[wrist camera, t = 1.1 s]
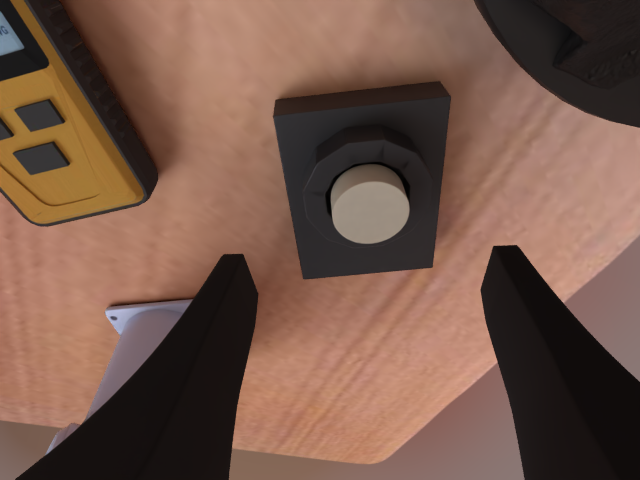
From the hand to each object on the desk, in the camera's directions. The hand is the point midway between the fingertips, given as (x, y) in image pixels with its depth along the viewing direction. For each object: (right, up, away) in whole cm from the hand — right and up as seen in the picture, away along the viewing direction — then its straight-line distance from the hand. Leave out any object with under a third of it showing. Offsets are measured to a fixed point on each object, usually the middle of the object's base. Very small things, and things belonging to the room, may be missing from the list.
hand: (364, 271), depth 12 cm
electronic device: (-17, +10, +9) cm, 21 cm away
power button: (+1, +3, +10) cm, 11 cm away
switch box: (+1, +5, +14) cm, 15 cm away
